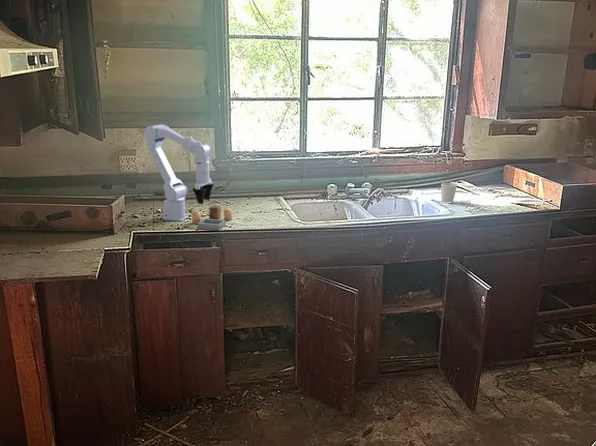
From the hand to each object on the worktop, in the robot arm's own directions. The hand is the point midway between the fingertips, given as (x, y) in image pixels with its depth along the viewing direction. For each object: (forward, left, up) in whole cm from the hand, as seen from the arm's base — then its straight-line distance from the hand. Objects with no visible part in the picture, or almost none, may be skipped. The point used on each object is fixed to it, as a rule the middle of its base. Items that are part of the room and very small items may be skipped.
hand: (203, 201), depth 256 cm
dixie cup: (+109, +72, -10) cm, 131 cm away
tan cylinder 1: (-3, -1, -10) cm, 11 cm away
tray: (+6, -5, -10) cm, 12 cm away
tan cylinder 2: (+9, +8, -10) cm, 15 cm away
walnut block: (+3, +7, -10) cm, 12 cm away
